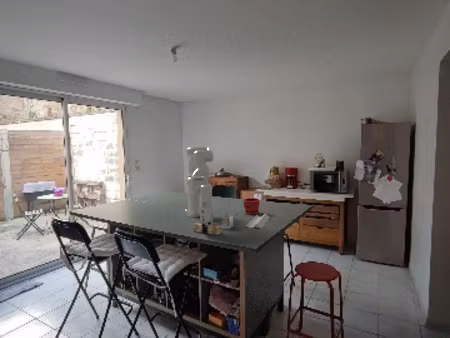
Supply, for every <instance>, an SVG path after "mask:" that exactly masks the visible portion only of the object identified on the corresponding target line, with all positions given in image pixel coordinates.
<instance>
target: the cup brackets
mask: <svg viewBox="0 0 450 338" xmlns="http://www.w3.org/2000/svg"><path fill="white" fill-rule="evenodd" d="M213 220H214V219H213ZM213 220H212V224H211V225H214V223H213ZM200 222H201V220H200V219H199V223H200ZM204 222H205V221H204ZM204 224H205V223H204ZM220 226H221V229H223V230H230V229H232V228H233V227H234V215H232V214H225V215H224V216H221V217H220Z"/></svg>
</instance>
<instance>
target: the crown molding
mask: <svg viewBox="0 0 450 338" xmlns="http://www.w3.org/2000/svg"><path fill="white" fill-rule="evenodd" d="M269 218H270V219H271V216H269V215H268V213H264V214H263V215H261V216H259V215H258V214H255V216H254V217H253V218H252V219H251V220H250V221H249V222H248V223H247V224H246V225H245V226H244V227H245V228H246V227H247V228H249V229H255V228H257V229H258V228H259V229H263V228H264V227H263V226H266V224H267V223H266V222H268V221H269V220H270V219H269ZM268 219H269V220H268ZM265 223H266V224H265ZM262 227H263V228H262Z"/></svg>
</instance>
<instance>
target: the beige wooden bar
mask: <svg viewBox="0 0 450 338" xmlns="http://www.w3.org/2000/svg"><path fill="white" fill-rule="evenodd" d="M192 227H193V228H192V229H193V232H195V233H202V225H201V224H200V222H195V223H193V226H192ZM206 227H207V233H206V234H210V235H211V234H212V235H217V236H218V235H220V234H221V233H222V230H221V229H222V228H221V224H220V225H219V224H212V225H211V224H207V226H206Z"/></svg>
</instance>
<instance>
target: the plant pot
mask: <svg viewBox="0 0 450 338" xmlns="http://www.w3.org/2000/svg"><path fill="white" fill-rule="evenodd" d="M242 201H243V207H244V213H245V214H246V215H252V216H254V215H258V214H259V213H260V211H259V208H260V199H259V198H257V197H256V198H255V197H249V198H244V199H243V200H242Z"/></svg>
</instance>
